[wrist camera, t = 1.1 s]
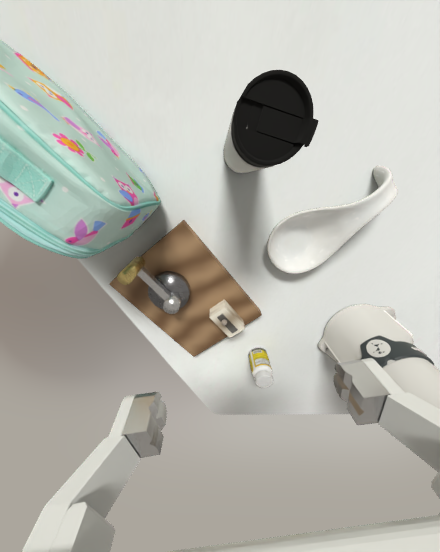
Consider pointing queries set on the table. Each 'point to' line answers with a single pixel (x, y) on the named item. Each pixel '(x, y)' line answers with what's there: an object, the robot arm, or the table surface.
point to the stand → (192, 293)
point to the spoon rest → (326, 228)
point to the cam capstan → (159, 285)
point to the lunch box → (63, 168)
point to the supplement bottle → (260, 367)
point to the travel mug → (269, 122)
